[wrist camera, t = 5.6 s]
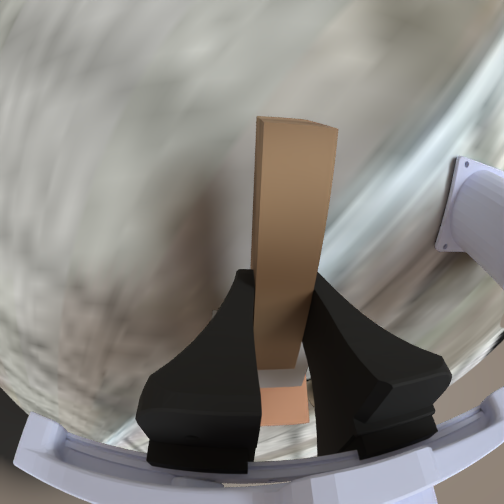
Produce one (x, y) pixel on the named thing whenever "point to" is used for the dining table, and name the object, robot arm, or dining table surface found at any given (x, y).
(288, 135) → the tall wooden plank
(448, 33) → the dining table surface
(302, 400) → the tile
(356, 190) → the dining table surface
